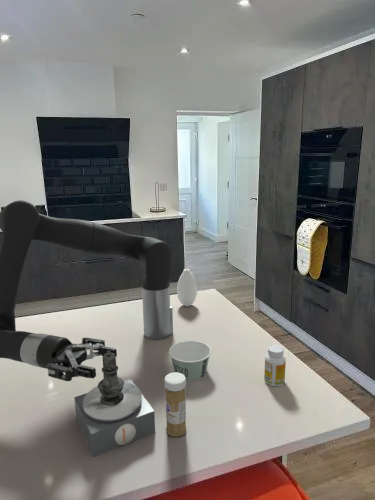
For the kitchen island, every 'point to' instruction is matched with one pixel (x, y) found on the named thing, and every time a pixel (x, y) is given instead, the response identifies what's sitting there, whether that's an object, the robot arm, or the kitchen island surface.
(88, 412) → the scale pan
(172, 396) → the sprinkles bottle
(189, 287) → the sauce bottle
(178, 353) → the food container
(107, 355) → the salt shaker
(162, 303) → the robot arm
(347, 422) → the kitchen island surface
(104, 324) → the kitchen island surface
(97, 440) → the kitchen scale
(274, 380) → the supplement bottle
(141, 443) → the kitchen island surface
